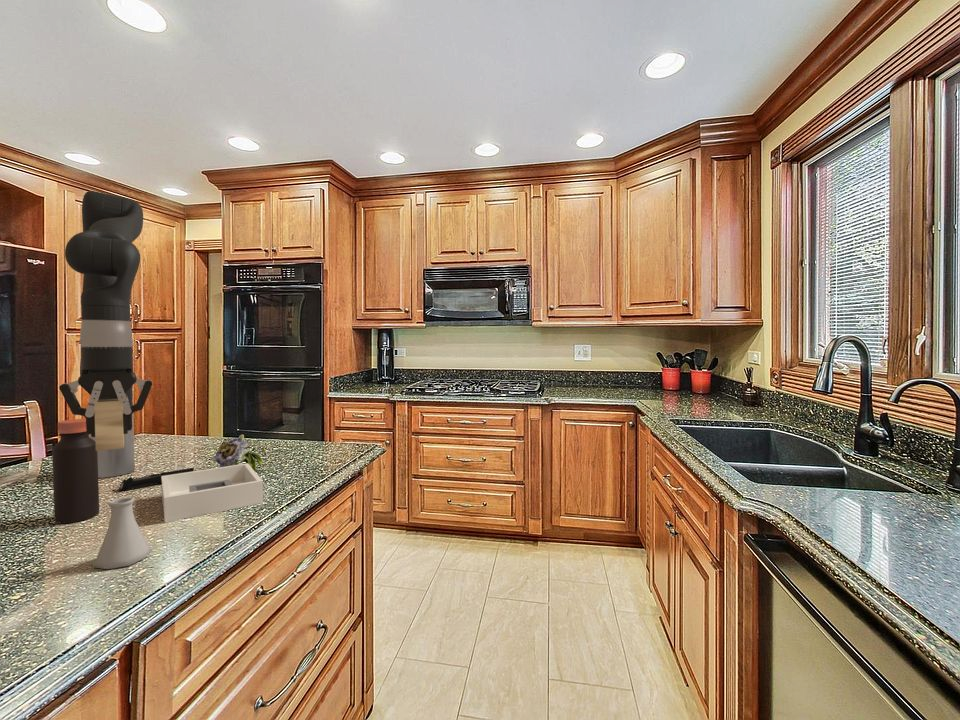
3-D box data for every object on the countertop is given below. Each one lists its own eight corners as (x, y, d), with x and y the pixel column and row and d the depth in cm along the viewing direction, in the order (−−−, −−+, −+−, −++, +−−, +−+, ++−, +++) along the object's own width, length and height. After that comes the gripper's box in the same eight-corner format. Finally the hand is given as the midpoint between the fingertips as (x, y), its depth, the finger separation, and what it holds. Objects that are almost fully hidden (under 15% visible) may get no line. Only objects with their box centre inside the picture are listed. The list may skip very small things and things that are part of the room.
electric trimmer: (195, 480, 116) (195, 468, 116) (120, 493, 105) (120, 480, 105) (192, 477, 119) (192, 465, 119) (118, 490, 108) (118, 477, 108)
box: (161, 497, 102) (161, 476, 102) (248, 482, 113) (247, 463, 113) (164, 522, 88) (164, 498, 87) (263, 502, 99) (262, 480, 98)
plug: (97, 446, 84) (96, 400, 84) (124, 443, 87) (123, 398, 86) (95, 451, 81) (94, 402, 81) (123, 447, 83) (122, 400, 83)
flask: (116, 550, 76) (114, 493, 76) (160, 548, 77) (158, 492, 76) (82, 571, 69) (79, 509, 69) (131, 569, 70) (129, 507, 69)
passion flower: (226, 493, 121) (198, 458, 120) (254, 474, 131) (229, 442, 130) (251, 474, 117) (223, 438, 117) (278, 456, 128) (252, 423, 127)
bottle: (107, 510, 94) (104, 417, 93) (84, 523, 87) (81, 423, 87) (71, 512, 93) (67, 418, 92) (45, 525, 86) (41, 424, 85)
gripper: (153, 344, 90) (155, 427, 91) (58, 344, 82) (61, 436, 82) (154, 345, 84) (156, 433, 85) (51, 345, 76) (55, 443, 76)
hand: (109, 434), depth 84 cm, fingers closed on plug, 4 cm apart
